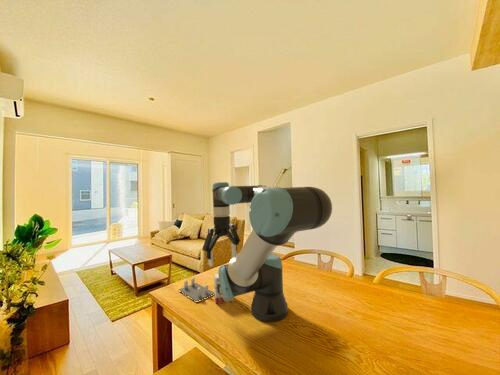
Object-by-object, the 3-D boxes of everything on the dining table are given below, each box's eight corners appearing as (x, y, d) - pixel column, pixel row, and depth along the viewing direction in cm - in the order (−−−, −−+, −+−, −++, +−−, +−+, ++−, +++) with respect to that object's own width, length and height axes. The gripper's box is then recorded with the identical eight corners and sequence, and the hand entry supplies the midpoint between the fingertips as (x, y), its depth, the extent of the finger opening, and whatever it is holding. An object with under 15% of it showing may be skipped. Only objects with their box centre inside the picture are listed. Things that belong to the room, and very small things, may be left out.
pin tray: (214, 294, 104) (214, 284, 104) (196, 303, 97) (196, 292, 97) (196, 284, 116) (195, 275, 116) (178, 291, 109) (178, 281, 109)
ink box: (215, 304, 95) (214, 278, 95) (214, 299, 100) (213, 273, 100) (234, 301, 97) (233, 275, 98) (232, 296, 102) (231, 271, 102)
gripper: (236, 212, 110) (237, 253, 110) (193, 218, 93) (194, 267, 93) (246, 213, 105) (247, 256, 105) (203, 219, 87) (204, 271, 87)
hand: (223, 261), depth 99 cm, fingers open, 13 cm apart
